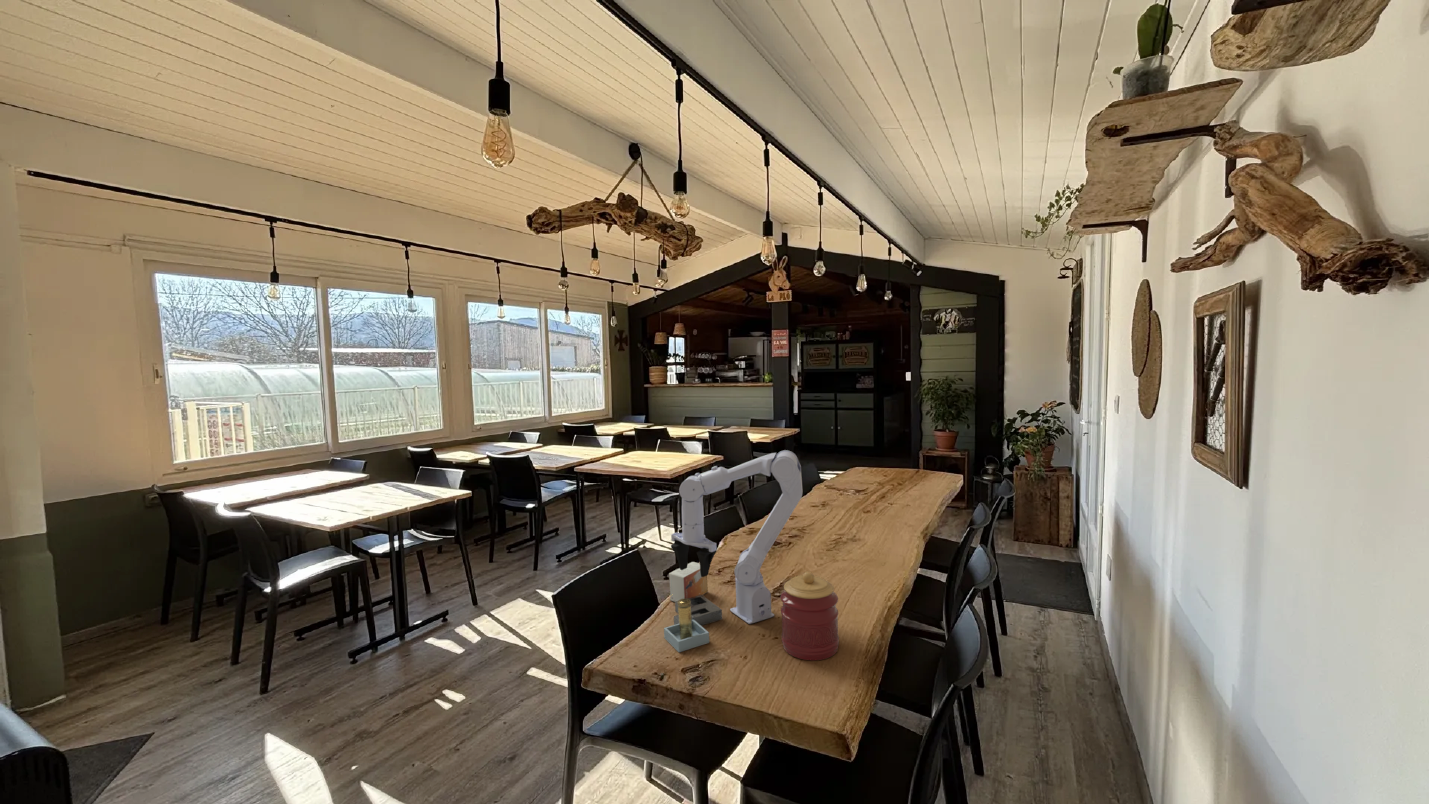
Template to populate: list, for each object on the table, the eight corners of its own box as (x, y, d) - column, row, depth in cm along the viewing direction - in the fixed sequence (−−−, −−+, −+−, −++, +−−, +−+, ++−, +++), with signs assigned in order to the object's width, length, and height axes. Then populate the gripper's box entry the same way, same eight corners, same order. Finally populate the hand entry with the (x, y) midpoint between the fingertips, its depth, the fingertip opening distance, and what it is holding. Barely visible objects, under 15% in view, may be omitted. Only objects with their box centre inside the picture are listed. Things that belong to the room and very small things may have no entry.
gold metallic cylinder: (694, 634, 134) (691, 598, 134) (691, 641, 131) (689, 604, 131) (681, 634, 135) (679, 598, 134) (678, 640, 132) (676, 604, 131)
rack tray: (709, 642, 132) (708, 632, 131) (678, 652, 128) (678, 641, 127) (693, 629, 138) (693, 619, 138) (664, 637, 135) (663, 628, 134)
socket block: (722, 619, 143) (721, 609, 143) (694, 627, 139) (694, 617, 139) (701, 603, 153) (701, 594, 152) (675, 611, 149) (675, 601, 149)
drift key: (704, 623, 141) (703, 614, 141) (679, 631, 138) (679, 621, 137) (698, 619, 144) (697, 609, 144) (674, 626, 140) (673, 616, 140)
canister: (800, 627, 137) (798, 557, 136) (849, 643, 129) (847, 569, 128) (770, 650, 127) (768, 574, 126) (821, 668, 119) (819, 588, 118)
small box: (708, 591, 160) (685, 605, 152) (693, 587, 164) (669, 601, 155) (707, 564, 160) (683, 577, 151) (692, 560, 163) (668, 573, 155)
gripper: (723, 523, 145) (724, 574, 146) (683, 514, 155) (684, 561, 156) (705, 530, 140) (706, 582, 141) (665, 520, 149) (666, 569, 150)
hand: (693, 572), depth 148 cm, fingers open, 7 cm apart
